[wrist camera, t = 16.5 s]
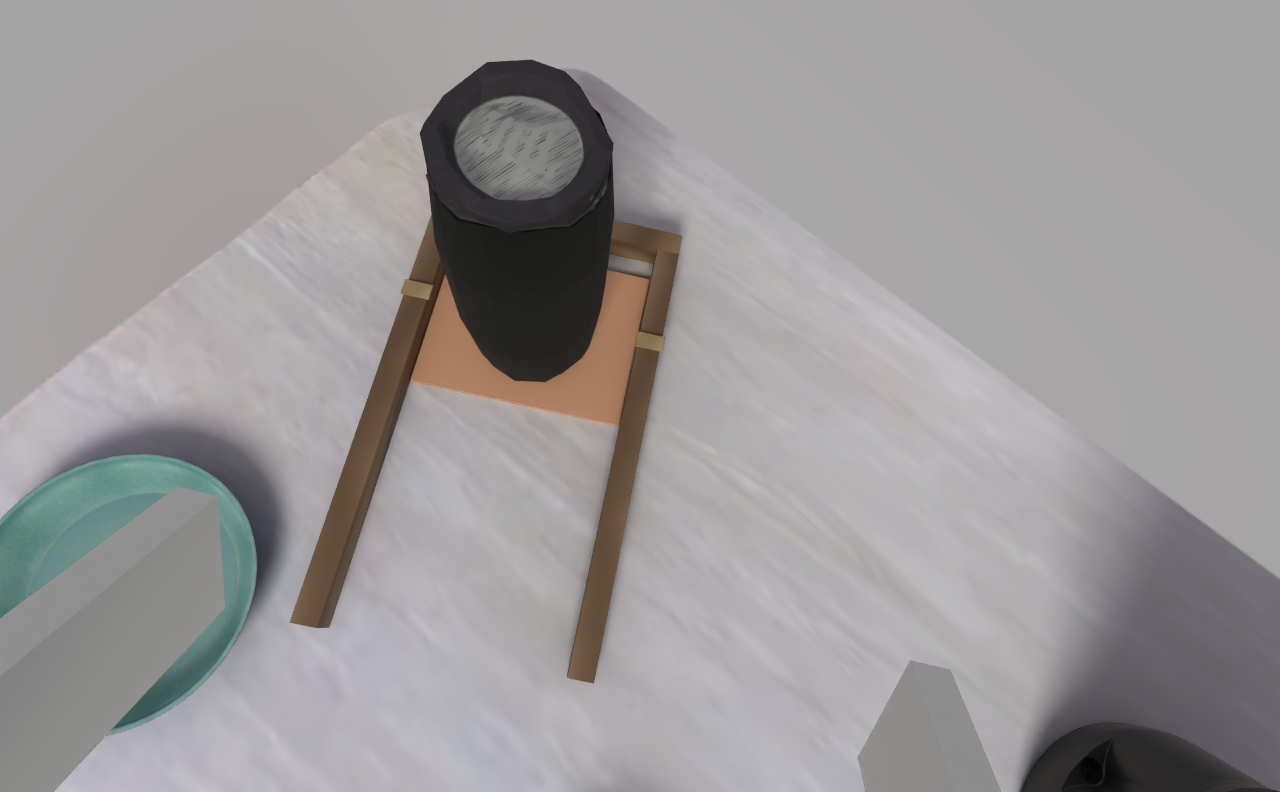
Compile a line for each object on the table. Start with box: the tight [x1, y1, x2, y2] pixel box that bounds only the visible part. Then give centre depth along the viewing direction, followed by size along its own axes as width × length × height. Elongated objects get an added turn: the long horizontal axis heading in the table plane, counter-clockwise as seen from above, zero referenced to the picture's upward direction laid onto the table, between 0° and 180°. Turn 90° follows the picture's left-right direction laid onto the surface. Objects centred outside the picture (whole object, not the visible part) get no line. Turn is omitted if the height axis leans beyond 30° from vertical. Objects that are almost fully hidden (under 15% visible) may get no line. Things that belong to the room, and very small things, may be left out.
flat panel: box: [411, 270, 649, 426], centre depth 46 cm, size 14×11×1 cm
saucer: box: [0, 454, 257, 736], centre depth 37 cm, size 15×15×3 cm
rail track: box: [290, 215, 682, 683], centre depth 43 cm, size 17×30×2 cm, turn 169°
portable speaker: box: [420, 60, 614, 382], centre depth 36 cm, size 9×9×20 cm
